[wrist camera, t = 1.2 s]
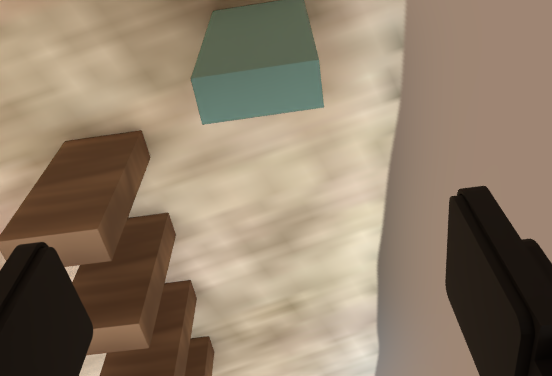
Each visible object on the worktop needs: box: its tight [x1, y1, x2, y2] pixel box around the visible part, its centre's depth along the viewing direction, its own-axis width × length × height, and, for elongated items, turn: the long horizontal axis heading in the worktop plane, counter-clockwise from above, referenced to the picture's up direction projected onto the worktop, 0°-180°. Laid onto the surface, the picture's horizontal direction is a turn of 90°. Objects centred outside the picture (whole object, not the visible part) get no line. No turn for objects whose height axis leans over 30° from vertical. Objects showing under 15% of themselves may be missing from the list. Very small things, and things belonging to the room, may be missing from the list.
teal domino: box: [191, 0, 324, 125], centre depth 24 cm, size 2×5×10 cm, turn 98°
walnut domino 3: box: [100, 280, 197, 376], centre depth 36 cm, size 2×5×10 cm, turn 98°
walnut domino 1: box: [0, 131, 150, 267], centre depth 29 cm, size 2×5×10 cm, turn 98°
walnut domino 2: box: [72, 213, 176, 355], centre depth 32 cm, size 2×5×10 cm, turn 99°
